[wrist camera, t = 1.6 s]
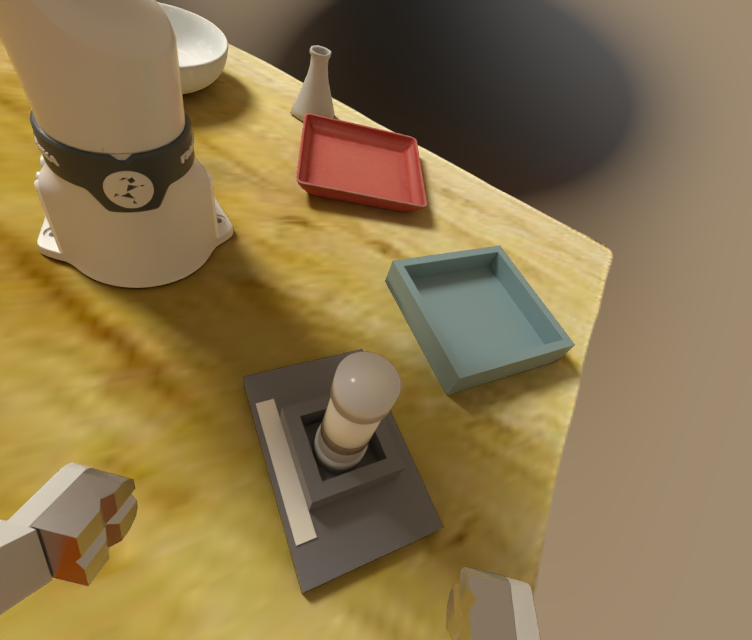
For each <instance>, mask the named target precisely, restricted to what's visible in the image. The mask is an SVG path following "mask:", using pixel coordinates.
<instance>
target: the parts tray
mask: <svg viewBox="0 0 752 640" xmlns="http://www.w3.org/2000/svg"><path fill="white" fill-rule="evenodd" d="M385 282H386V284H387V286H388V287H389V289H390V291H391V293H392V295H393V297H394V298H395V300H396V302H397V304H398V306H399V308H400V310H401V311H402V313H403V315H404V317H405V319H406V321H407V323H408V324H409V326H410V328H411V330H412V332H413V334H414V336H415V337H416V339H417V341H418V343H419V345H420V347H421V349H422V350H423V352H424V354H425V356H426V358H427V360H428V362H429V363H430V365H431V367H432V369H433V371H434V373H435V375H436V376H437V378H438V380H439V382H440V384H441V386H442V388H443V389H444V391H445V393H446V395H449V394H453V393H456V392H459V391H462V390H466V389H469V388H472V387H475V386H479V385H482V384H485V383H488V382H491V381H495V380H498V379H501V378H504V377H508V376H511V375H514V374H517V373H521V372H524V371H527V370H530V369H533V368H537V367H540V366H543V365H546V364H550V363H553V362H556V361H558V360H559V359H560V358H561V357H562V356H564V355H565V354H566V353H567V352H568V351H569V350H570V349H571V348H572V347H573V346H574V345H575V344H574V343H573V341H572V340H571V339H570V337H569V336H568V335H567V334H566V332H565V331H564V330H563V328H562V327H561V326H560V324H559V323H558V322H557V320H556V319H555V318H554V316H553V315H552V314H551V312H550V311H549V310H548V308H547V307H546V306H545V304H544V303H543V302H542V301H541V299H540V298H539V297H538V295H537V294H536V293H535V291H534V290H533V289H532V287H531V286H530V285H529V283H528V282H527V281H526V279H525V278H524V277H523V275H522V274H521V273H520V271H519V270H518V269H517V268H516V266H515V265H514V264H513V262H512V261H511V260H510V258H509V257H508V256H507V254H506V253H505V252H504V250H503V249H502V248H501V246H494V247H487V248H480V249H473V250H466V251H459V252H452V253H445V254H438V255H431V256H424V257H417V258H410V259H403V260H396V261H393V262H392V264H391V267H390V270H389V272H388V275H387V278H386V280H385Z"/></svg>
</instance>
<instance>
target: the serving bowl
mask: <svg viewBox="0 0 752 640" xmlns="http://www.w3.org/2000/svg"><path fill="white" fill-rule="evenodd" d="M158 4H159V5H160V6H161V8H162V9H163V11H164V12H165V13H166V15H167V17H168V19H169V21H170V23H171V25H172V27H173V30H174V32H175V35H176V41H177V50H178V59H179V68H180V77H181V87H182V94H187V93H192V92H195V91H198V90H201V89H203V88H205V87H207V86H209V85H210V84H211V83H213V82H214V81H215V80H216V79H217V78H218V77H219V75H220V74H221V72H222V71H223V69H224V66H225V63H226V59H227V53H228V41H227V39H226V37H225V35H224V34H223V33H222V31H221V30H220V29H219V28H217V27H216V26H215V25H214V24H212V23H211V22H209V21H208V20H206V19H204V18H202V17H200V16H198V15H196V14H194V13H192V12H189V11H186V10H183V9H181V8H178V7H174V6H171V5H167V4H162V3H158Z"/></svg>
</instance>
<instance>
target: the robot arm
mask: <svg viewBox="0 0 752 640" xmlns="http://www.w3.org/2000/svg"><path fill="white" fill-rule="evenodd" d="M0 39H1V41H2V43H3V45H4V47H5V49H6V52H7V54H8V56H9V58H10V60H11V62H12V65H13V67H14V69H15V71H16V73H17V76H18V78H19V80H20V83H21V85H22V87H23V90H24V92H25V94H26V97H27V99H28V102H29V104H30V106H31V109H32V111H31V114H30V122H31V125H32V128H33V134H34V138H35V141H36V144H37V146H38V149H39V150H40V151H41V153H42V155H41V157H40V165H41V171H37V173H36V179H37V180H36V181H35V182H34V183H35V189H36V192H37V194H38V197H39V200H40V202H41V205H42V208H43V210H44V213H45V219H44V222H43V225H42V228H41V231H40V234H39V237H38V240H37V244H38V247H39V250H40V252H41V253H42V254H44V255H46V256H48V257H51V258H54V259H58V260H61V261H65V262H68V263H70V264H71V265H73V266H74V267H76V268H77V269H78V270H80V271H81V272H82V273H84V274H85V275H87V276H89V277H90V278H92V279H95V280H97V281H100V282H102V283H106V284H109V285H114V286H120V287H129V288H143V287H154V286H159V285H164V284H168V283H171V282H174V281H177V280H180V279H182V278H184V277H186V276H188V275H190V274H191V273H193V272H195V271H196V270H197V269H199V268H200V267H201V266H202V265H203V264H204V263H205V262H206V261H207V259H208V258H209V256H210V255H211V253H212V252H213V250H214V249H215V248H216V247H217V246H218V245H220V244H221V243H223V242H225V241H226V240H228V239H229V238H230V237H231V236H232V235H233V227H232V224H231V222H230V220H229V219H228V217H227V216H226V214H225V213H224V211H223V210H222V208H221V207H220V205H219V204H218V202H217V201H216V199H215V197H214V188H213V181H212V177H211V174H209V173H207V172H206V170H205V168H204V166H203V165H202V164H201V163H200V161H199V160H198V159H197V158H196V157H195V156H194V136H193V132H192V128H191V123H190V119H189V117H188V115H187V113H186V112H185V110H184V105H183V96H182V87H181V77H180V68H179V59H178V50H177V41H176V35H175V32H174V30H173V27H172V25H171V23H170V21H169V19H168V17H167V15H166V13H165V12H164V11H163V9H162V8H161V6H160V5H159V4H158V2H157V1H156V0H0ZM134 490H135V483H134V479H131V478H127V477H123V476H120V475H116V474H112V473H108V472H105V471H101V470H97V469H94V468H92V467H88V466H84V465H80V464H76V463H72V462H71V463H69V464H67V465H66V466H64V467H62V468H61V469H60V470H59V471H58V472H57V473H56V474H55V475H54V476H53V477H52V478H51V479H50V480H49V481H48V482H47V483H46V484H45V485H43V486H42V487H41V488H40V489H39V490H38V491H37V492H36V493H35V494H34V495H33V496H32V497H31V498H30V499H29V500H28V501H27V502H26V503H25V504H24V505H23V506H22V507H21V508H20V509H19V510H18V511H17V512H16V513H15V514H14V515H13V516H12V517H11V518H10V519H9V520H8V521H6V520H0V615H1V614H2V613H4V612H5V611H7V610H8V609H10V608H11V607H13V606H14V605H16V604H17V603H19V602H20V601H22V600H23V599H25V598H26V597H28V596H29V595H31V594H32V593H34V592H35V591H37V590H38V589H40V588H41V587H43V586H44V585H46V584H47V583H49V582H50V581H52V578H56V579H60V580H64V581H69V582H73V583H77V584H81V585H85V586H89V585H90V584H91V583H92V581H93V580H94V578H95V577H96V576H97V574H98V573H99V572H100V570H101V569H102V567H103V566H104V565H105V563H106V562H107V561H108V559H109V547H111V546H113V545H115V544H116V543H118V542H120V541H122V540H123V538H124V537H125V536H126V534H127V533H128V531H129V530H130V528H131V526H132V524H133V522H134V519H135V517H136V514H137V508H138V505H137V500H136V499H135V498H134V496H133V495H132V494H131V493H132V492H133V491H134ZM446 628H447V630H448V632H449V634H450V636H451V638H452V640H540V634H539V628H538V622H537V616H536V610H535V605H534V599H533V593H532V589H531V587H530V585H529V584H528V583H527V582H523V581H519V580H515V579H511V578H507V577H505V576H501V575H497V574H493V573H489V572H485V571H481V570H477V569H473V568H469V567H464V568H462V570H461V572H460V574H459V583H457V584H455V585H454V586H453V588H452V590H451V592H450V596H449V600H448V605H447V619H446Z"/></svg>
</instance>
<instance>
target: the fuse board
mask: <svg viewBox="0 0 752 640" xmlns="http://www.w3.org/2000/svg"><path fill="white" fill-rule="evenodd" d="M357 352H363V350H362V349H361V350H356V351H352V352H348V353H343V354H339V355H335V356H330V357H326V358H322V359H317V360H313V361H309V362H304V363H300V364H296V365H292V366H287V367H283V368H279V369H274V370H270V371H266V372H261V373H257V374H253V375H248V376H244V377H243V384H244V387H245V391H246V394H247V398H248V402H249V405H250V409H251V412H252V416H253V420H254V423H255V427H256V431H257V434H258V438H259V441H260V445H261V449H262V452H263V456H264V460H265V463H266V467H267V470H268V474H269V478H270V481H271V485H272V489H273V492H274V496H275V499H276V503H277V507H278V510H279V514H280V517H281V521H282V525H283V528H284V532H285V536H286V539H287V543H288V546H289V550H290V554H291V557H292V561H293V565H294V568H295V572H296V575H297V579H298V583H299V586H300V590H301V593H302V594H303V593H305V592H307V591H309V590H311V589H313V588H316V587H318V586H320V585H322V584H324V583H326V582H329V581H331V580H333V579H335V578H337V577H339V576H342V575H344V574H346V573H348V572H350V571H352V570H354V569H357V568H359V567H361V566H363V565H365V564H367V563H370V562H372V561H374V560H376V559H378V558H380V557H383V556H385V555H387V554H389V553H391V552H393V551H395V550H398V549H400V548H402V547H404V546H406V545H408V544H411V543H413V542H415V541H417V540H419V539H421V538H424V537H426V536H428V535H430V534H432V533H434V532H436V531H439V530H440V529H442V528H443V525H442V523H441V521H440V519H439V517H438V514H437V512H436V510H435V508H434V506H433V503H432V501H431V499H430V497H429V495H428V492H427V490H426V488H425V486H424V484H423V481H422V479H421V477H420V475H419V473H418V470H417V468H416V466H415V464H414V462H413V459H412V457H411V455H410V453H409V451H408V449H407V446H406V444H405V442H404V440H403V438H402V435H401V433H400V431H399V429H398V427H397V424H396V422H395V420H394V418H393V416H392V413H391V411H390V412H389V413H388V414H387V416H386V417H385V418H383V419H382V420H381V421H380V423H379V425H378V427H377V428H376V430H375V432H374V433H373V436H372V438H371V439H370V441H369V443H368V446H367V450H366V452H365V454H364V456H363V457H362V459H361V461H360V462H359V464H358V465H357V466H356V467H355V468H354V469H353V470H351V471H349V472H347V473H343V474H334V473H330V472H328V471H326V470H324V469H323V468H322V467H321V466H320V465H319V464H318V463H317V461H316V460H315V457H314V454H313V442H314V439H315V436H316V432H317V430H318V428H319V426H320V424H321V423H322V421H323V418H324V415H325V412H326V410H327V407H328V404H329V401H330V398H331V394H330V391H331V386H332V382H333V379H334V376H335V373H336V370H337V367H338V365H339V364H340V362H341V361H342V360H343V359H344V358H346V357H347V356H349V355H351V354H353V353H357Z"/></svg>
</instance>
